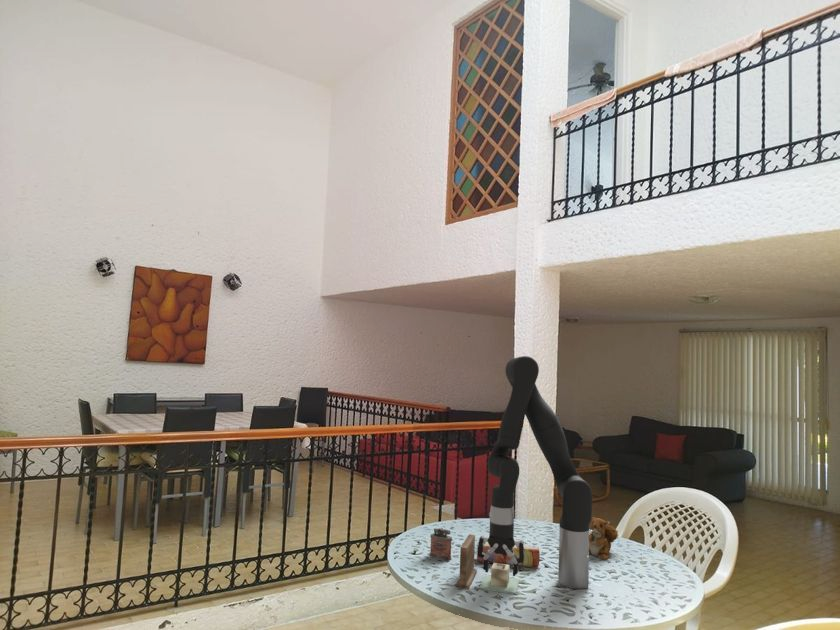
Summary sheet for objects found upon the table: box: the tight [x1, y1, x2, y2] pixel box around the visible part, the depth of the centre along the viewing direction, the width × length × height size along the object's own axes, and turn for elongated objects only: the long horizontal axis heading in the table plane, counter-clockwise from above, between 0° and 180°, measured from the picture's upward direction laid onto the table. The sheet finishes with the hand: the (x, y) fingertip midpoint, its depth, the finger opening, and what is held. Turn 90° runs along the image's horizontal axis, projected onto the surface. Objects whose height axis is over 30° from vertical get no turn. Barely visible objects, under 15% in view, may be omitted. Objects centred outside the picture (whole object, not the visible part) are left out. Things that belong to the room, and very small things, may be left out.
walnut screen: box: [455, 533, 478, 590], centre depth 178 cm, size 4×14×12 cm, turn 164°
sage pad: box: [479, 573, 520, 595], centre depth 175 cm, size 11×11×1 cm
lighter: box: [429, 527, 453, 562], centre depth 197 cm, size 8×3×10 cm, turn 62°
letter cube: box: [490, 563, 511, 587], centre depth 175 cm, size 5×5×5 cm
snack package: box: [476, 542, 541, 569], centre depth 194 cm, size 21×7×7 cm, turn 79°
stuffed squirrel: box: [589, 516, 619, 561], centre depth 208 cm, size 10×14×13 cm
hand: (500, 573), depth 175 cm, fingers open, 8 cm apart
